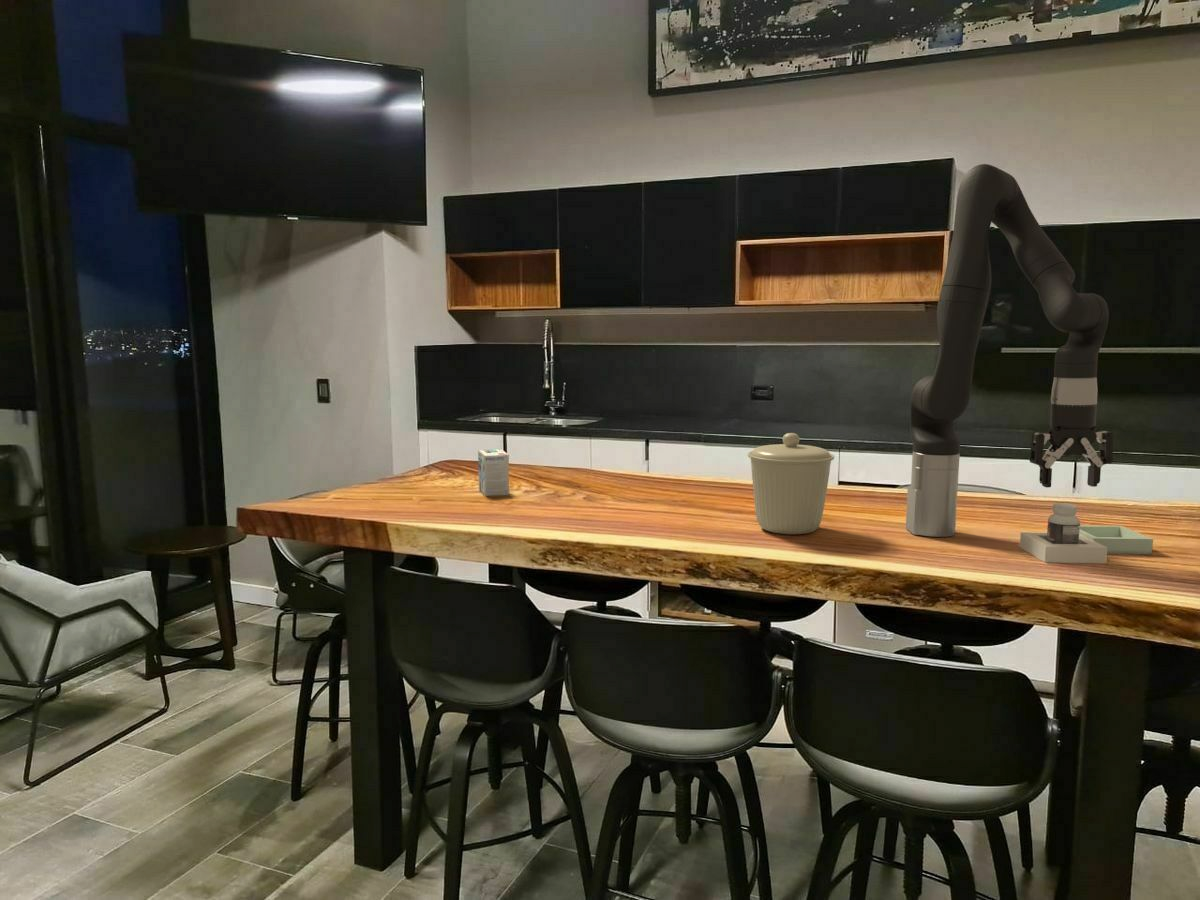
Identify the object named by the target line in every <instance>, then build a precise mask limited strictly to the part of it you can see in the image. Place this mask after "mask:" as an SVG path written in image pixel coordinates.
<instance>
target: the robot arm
mask: <svg viewBox="0 0 1200 900" xmlns="http://www.w3.org/2000/svg"><path fill="white" fill-rule="evenodd" d="M954 214H955V215H954V223H953V231H952V238H951V243H950V248H949V252H948V257H947V262H946V265H945V267H946V268H945V271H944V272H945V273H944V276H943V280H942V284H941V289H940V293H939V298H938V300H937V301H938V302H937V307H936V322H937V331H938V332H937V333H938V338H939V349H938V350H939V351H938V358H937V363H936V366H935V370H934V372H933V375H932V374H931V375H927V376H925V377H922V378H921V379H920V380H919V381H917V383H916V384H915V385H914V386H913V389H912V392H911V396H910V405H909V406H910V409H909V412H910V413H909V420H910V421H909V435H910V439H911V442H912V458H911V459H912V460H911V461H912V462H911V478H910V479H911V480H910V485H909V484H908V486H907V496H906V497H907V499H906V517H905V529H906V530H907V531H908V532H910V533H911V534H912V535H914V536H915V535H916V536H924V537H932V538H933V537H934V538H936V537H937V538H938V537H939V538H946V537H952V536H954V535H955V534H956V525H957V523H956V522H957V521H956V520H957V507H958V506H957V504H958V490H959V489H958V488H959V473H960V472H959V470H960V457H961V455H960V454H961V453H960V452H961V451H960V450H961V442H960V439H959V438H958V436H957V435H956V434H957V433H956V432H955V428H954V421H956V420H958V419H959V418H960V417H962V416H963V414H965V412H966V410H967V408H968V406H969V403H970V400H971V393H972V382H973V375H974V374H973V373H974V365H975V358H976V353H977V349H978V345H979V340H980V336H981V333H982V327H983V322H984V319H985V315H986V312H987V307H988V303H989V299H990V294H991V288H992V278H993V277H992V267H991V266H992V264H991V260H990V259H991V258H990V252H989V251H990V250H989V235H990V230H991V229H990V228H991V224H993V225H994V226H996V228H997V229H999V230H1000V232H1001V233H1002V234H1003V235H1004V237H1005V238H1006V240H1007V241H1008V243H1009V245H1010V247H1011V250H1012V253H1013V255H1014V259H1015V260H1016V262H1017V265H1018V267H1019V268H1020V270H1021V271H1022V273H1023V275H1024V276H1025V277H1026V278H1027V280H1028V281H1029V283H1030V284H1031V285H1032V287H1033V288H1034V289H1035V291H1036V293H1037V296H1038V298H1039V301H1040V305H1041V307H1042V310H1043V313H1044V315H1045V317H1046V319H1047V320H1048V322H1049V323H1050V324H1051V326H1053V327H1054V328H1055V329H1056V330H1058V331H1061V332H1063V333H1069V335H1068V339H1067V341H1066V343H1065V344H1064V345H1062V346H1060V347H1058V348H1057V350H1055V351H1056V352H1055V355H1054V364H1053V365H1054V370H1053V371H1054V372H1053V382H1052V387H1051V396H1050V417H1049V418H1050V421H1049V426H1050V430H1049V432H1048V433H1041V432H1037V431H1035V432H1033V433H1032V435H1031V443H1030V445H1031V446H1030V452H1029V463H1031V464H1034V465H1036V466H1038V467H1039V480H1038V481H1039V484H1041V486H1042V487H1045V488H1051V487H1052V480H1053V479H1052V477H1053V474H1052V473H1053V468H1051V467H1052V466H1053V465H1054V464H1055V463H1056V462H1057V460H1059V459H1060V458H1061V457H1062V456H1069V457H1070V456H1073V455H1074V456H1082V457H1084V458H1085V460H1087V462H1088V463H1089V464H1090V465H1088V466H1087V481H1086V482H1087V483H1086V484H1087V486H1089V487H1095V488H1096V487H1098V484H1100V482H1101V472H1102V471H1101V469H1102V467H1103V466H1104V465H1107V464H1109V465H1110V464H1111V463H1113V461H1114V457H1113V454H1114V452H1113V451H1114V449H1113V448H1114V447H1113V446H1114V445H1113V441H1114V439H1113V438H1114V436H1113V433H1112V432H1110V431H1106V430H1100V431H1097V432H1096V430H1095V429H1096V428H1095V427H1096V423H1097V410H1098V409H1097V408H1098V407H1097V406H1098V378H1097V377H1098V363H1099V362H1098V361H1099V352H1100V350H1101V347H1102V344H1103V341H1104V338H1105V336H1106V332H1107V329H1108V325H1109V318H1110V314H1109V313H1110V312H1109V307H1108V304H1107V301H1106V300H1105V298H1104V297H1102V296H1101V295H1099V294H1097V293H1093V292H1088V293H1082V292H1081V293H1079V292H1078V293H1077V291H1076V290H1075V289H1074V287H1073V283H1074V282H1075V278H1076V273H1075V271H1074V269H1073V268H1072V266H1071V265H1070V263H1069V262H1068V261H1067V260H1066V258H1065V256H1064V255H1063V254H1062V252H1061V251H1060V250H1059V249H1058V247H1057V246H1056V245H1055V244H1054V242H1053V241H1052V240H1051V238H1050V237H1049V236H1048V235H1047V233H1046V232H1045V231H1044V230H1043V228H1042V227H1041V225H1040V224H1039V222H1038V221H1037V218H1036V217H1035V216H1034V213H1033V212H1032V210H1031V208H1030V206H1029V204H1028V202H1027V200H1026V198H1025V196H1024V192H1023V191H1022V189H1021V187H1020V185H1019V183H1018V181H1017V180H1016V179H1015V177H1014V176H1013V175H1011V174H1010V173H1008V172H1007V171H1004V170H1002V169H1000V168H998V167H996V166H994V165H992V164H987V163H981V164H978V165H977V164H976V165H975V166H973V167H972V168H971V169H969V170H968V171H967V172H966V173H965V175H964V176H963V178H962V179H961V182H960V184H959V187H958V191H957V196H956V204H955V213H954ZM1047 441H1049V443H1050V444H1051V445H1050V446H1049V447H1048V449H1046V451H1045V452H1044V446H1045V445H1046V444H1047ZM1095 441H1096V442H1097V443H1098V451H1099V452H1098V453H1099V454H1098V453H1097V451H1096V450H1095V449H1094V447H1093V446H1092V445H1093V444H1094V443H1095Z"/></svg>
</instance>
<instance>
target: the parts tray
mask: <svg viewBox="0 0 1200 900" xmlns="http://www.w3.org/2000/svg"><path fill="white" fill-rule="evenodd" d="M1079 534H1081V535H1083V536H1085V537H1087V538H1089V539H1091V540H1093V541H1095V542H1097V543H1099V544H1101V545H1103V546H1105V547H1107V555H1108V554H1110V555H1113V554H1114V555H1115V554H1116V555H1153V554H1152V553H1153V548H1154V547H1153V546H1154V545H1153V544H1154V539H1153V538H1152V537H1150V536H1147V535H1144V534H1142V533H1140V532H1137V531H1135V530H1133V529H1130V528H1128V527H1125V526H1123V525H1094V524H1092V525H1090V524H1088V525H1085V524H1084V525H1082V524H1080V530H1079Z"/></svg>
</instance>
